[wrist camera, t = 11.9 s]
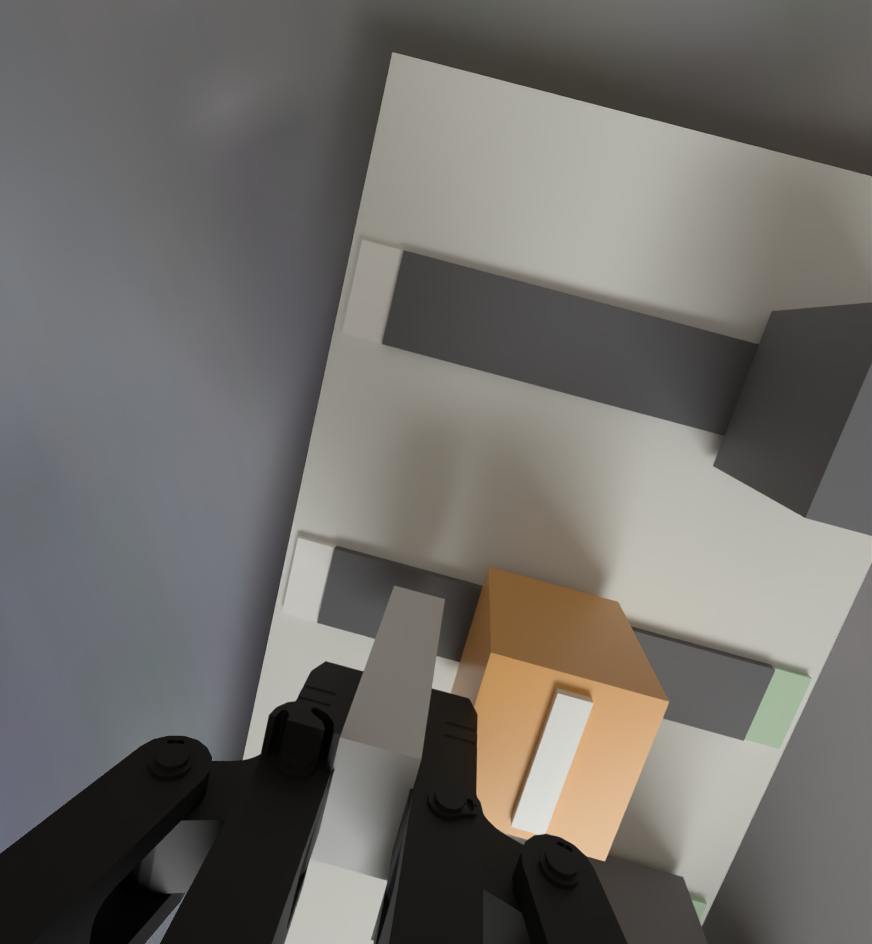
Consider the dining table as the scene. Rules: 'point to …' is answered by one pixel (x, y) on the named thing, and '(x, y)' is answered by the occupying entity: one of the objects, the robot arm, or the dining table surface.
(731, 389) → the panel board
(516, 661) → the breaker toggle
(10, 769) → the dining table surface
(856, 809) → the dining table surface
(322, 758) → the robot arm
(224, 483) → the dining table surface
